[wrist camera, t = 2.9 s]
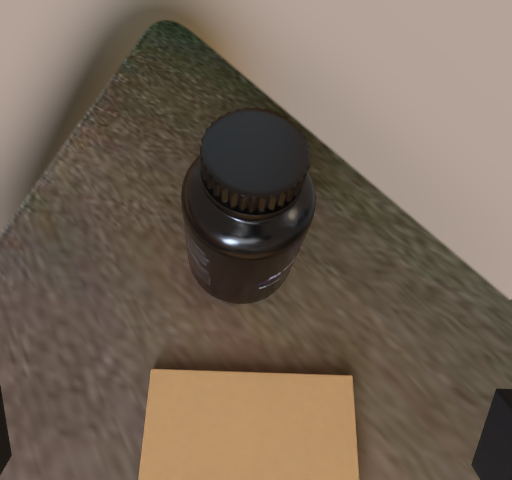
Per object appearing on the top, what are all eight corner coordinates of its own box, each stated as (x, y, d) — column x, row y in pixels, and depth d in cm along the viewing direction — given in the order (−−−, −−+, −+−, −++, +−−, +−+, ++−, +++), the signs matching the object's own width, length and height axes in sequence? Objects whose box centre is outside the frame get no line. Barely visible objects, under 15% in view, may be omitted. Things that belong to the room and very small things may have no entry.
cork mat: (350, 376, 27) (352, 375, 27) (364, 600, 23) (367, 603, 22) (152, 369, 26) (151, 368, 26) (125, 600, 22) (123, 603, 21)
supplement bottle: (288, 311, 28) (333, 232, 17) (182, 301, 28) (160, 214, 17) (293, 216, 31) (334, 97, 20) (196, 206, 31) (185, 80, 20)
